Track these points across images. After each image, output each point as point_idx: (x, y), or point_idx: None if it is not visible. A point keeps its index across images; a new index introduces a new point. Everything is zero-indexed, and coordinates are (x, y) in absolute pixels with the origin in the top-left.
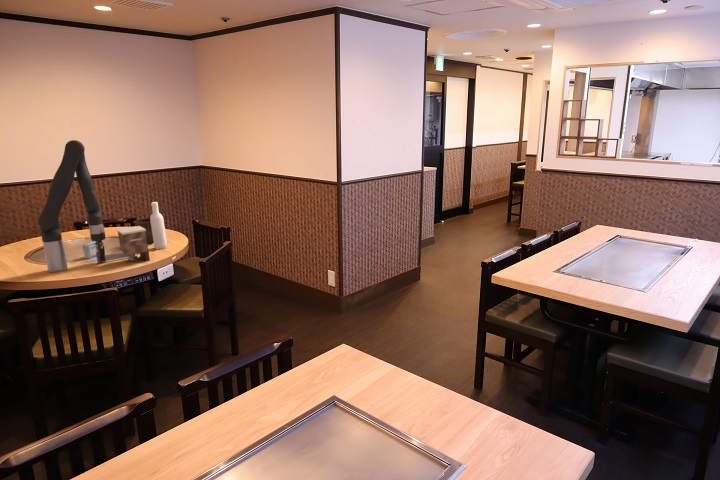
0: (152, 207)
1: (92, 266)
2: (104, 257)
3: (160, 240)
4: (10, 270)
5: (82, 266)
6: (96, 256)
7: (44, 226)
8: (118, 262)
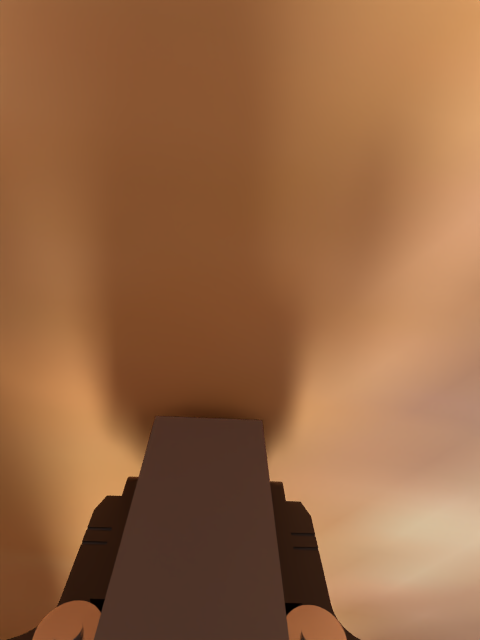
0: None
1: (61, 278)
2: None
3: None
4: None
5: (240, 106)
6: (251, 514)
7: None
8: (24, 615)
